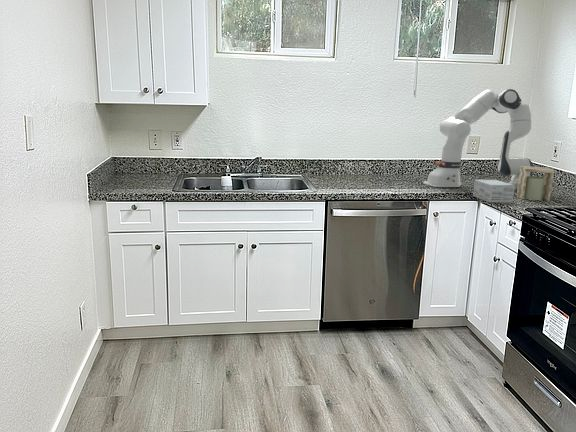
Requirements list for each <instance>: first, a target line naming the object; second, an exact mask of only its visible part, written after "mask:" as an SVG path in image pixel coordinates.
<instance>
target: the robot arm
mask: <svg viewBox="0 0 576 432" xmlns="http://www.w3.org/2000/svg"><path fill="white" fill-rule="evenodd" d="M490 110H493V111H495V112H496V113H498V114H506V113H508V114H509V118H510V119H509V120H510V125H509V128H508V130H507V131H505V133H504V136H503V139H502V144H501V150H500V156H499V160H498V165H497V171H498V173H499V175H501V176H502V177H509V176H510V177H511V178H510V181H509V182H508V183H509V184H512V185H515V187H514V190H517V188H518V181H519V174H520V167H521V166H529V167H534V164H533V162H532V160H531V159H529V158H528V157H527V158H526V157H522V158H521V157H520V158H519V157H518V158H509V156H510V149H511V145H512V143H513V142H514V141H516V140H520V139H522V138H524V137H526V136H527V135H528V134H529V133H530V132H531V130H532V114H531V109H530V106H529V105H528V104H527V103H526V102H525V103H524V102H522V99H521V97H520V95H519V92H517V91H516V90H515V89H511V88H509V89H504V90H503V91H502V92H501V93H496V92H495V91H494V90H492V89H485V90H483V91H482V92H481V93H479V94H478V95H477V96H475V97H474V98H473V99H471V100H470V101H469V103H467V104H466V105H465V106H464V107H463V108H461V109H459V111H457V112H455V113H454V114H452V115H451V116H450V117H448V118H446V119H444V120H442V121H441V122H440V124H439V132H440V133H441V134H442V135H444V136H445V137H447V139H446V142H445V144H444V145H443V147H442V152H441V153H442V154H441V159H440V161H437V160H436V161H435V165H438V166H437V167H436V168H435V169H434V170H432V171H431V172H429V174H428V177H427V180H426V181H425V180H424V181H423V185H426V186H429V187H435V188H460V187H461V186H462V184H461V168H462V156H463V155H462V154H463V148H464V145H465V143H466V142H465V141H466V139H467V138H468V136H470V133H471V131H472V127H471V125H472V124H476V123H477V121H479V120H480V119H481V118H482V117H483V116H485V114H487V113H488V112H490ZM533 173H534V172H528V173H527V176H533Z"/></svg>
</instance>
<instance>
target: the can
mask: <svg viewBox="0 0 576 432" xmlns="http://www.w3.org/2000/svg"><path fill="white" fill-rule="evenodd" d="M544 180H545V178H544V177H542V176H534V175H532V176H527V180H526V187H525V193H524V198H525V200H527V199H531V200H530V201H535V200H539V201H542V200H543V198H542V192H543V186H544Z"/></svg>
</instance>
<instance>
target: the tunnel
mask: <svg viewBox="0 0 576 432" xmlns="http://www.w3.org/2000/svg"><path fill="white" fill-rule="evenodd" d="M528 172H533V173H543V174H544V177H543V178H545V180H544V186H543V192H542V199H543V198H544V199H543V200H545V199H546V200H545V201H547V200H548V201H547V202H550V200H551V194H552V188H553V183H554V182H553V181H554V175H555V169H553V168H551V167H547V166H545V167H544V166H533V167H529V166H521V167H520V174H519V181H518V188H517V189H516V191H515V190H514V194H515V196H516V197H517V196H518V197H517V198H519V199H520V198H521V199H520V200H522V199H524V193H525V187H526V180H527V173H528ZM514 194H513V195H514Z"/></svg>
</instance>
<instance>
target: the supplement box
mask: <svg viewBox="0 0 576 432" xmlns="http://www.w3.org/2000/svg"><path fill="white" fill-rule="evenodd" d="M514 187H515V185H512V184H509V182H506V181H501V180H498V179H474V184H473V193H472V197H475V198H477V199H479V200H482V201H485V202H487V203H513V199H514V191H515V189H514Z"/></svg>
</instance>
